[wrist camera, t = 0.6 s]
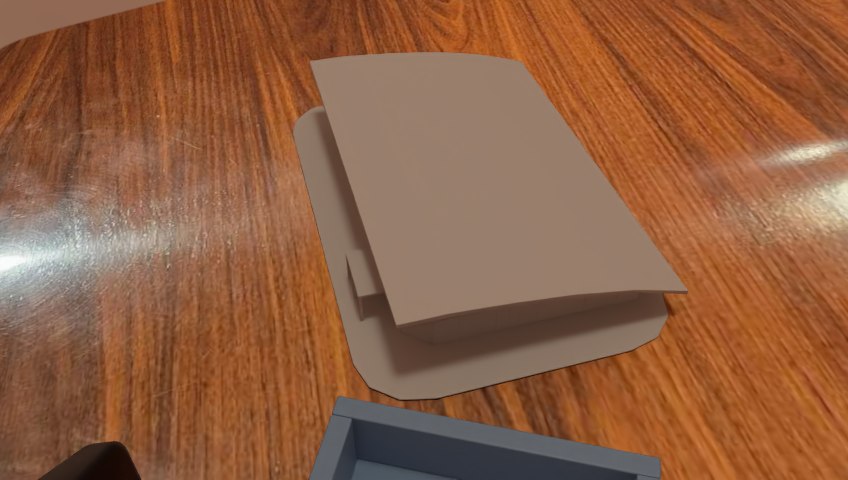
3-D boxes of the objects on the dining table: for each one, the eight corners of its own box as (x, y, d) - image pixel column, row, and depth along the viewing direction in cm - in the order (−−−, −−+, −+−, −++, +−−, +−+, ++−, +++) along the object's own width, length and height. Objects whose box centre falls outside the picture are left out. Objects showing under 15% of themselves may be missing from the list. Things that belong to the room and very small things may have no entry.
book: (366, 415, 30) (361, 360, 27) (286, 110, 45) (278, 55, 43) (693, 335, 33) (717, 278, 30) (512, 74, 48) (518, 21, 46)
